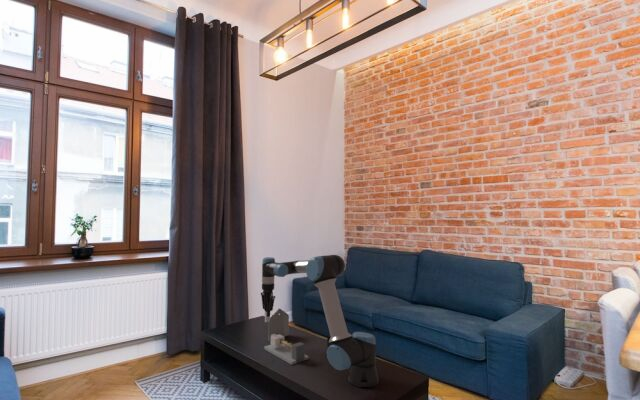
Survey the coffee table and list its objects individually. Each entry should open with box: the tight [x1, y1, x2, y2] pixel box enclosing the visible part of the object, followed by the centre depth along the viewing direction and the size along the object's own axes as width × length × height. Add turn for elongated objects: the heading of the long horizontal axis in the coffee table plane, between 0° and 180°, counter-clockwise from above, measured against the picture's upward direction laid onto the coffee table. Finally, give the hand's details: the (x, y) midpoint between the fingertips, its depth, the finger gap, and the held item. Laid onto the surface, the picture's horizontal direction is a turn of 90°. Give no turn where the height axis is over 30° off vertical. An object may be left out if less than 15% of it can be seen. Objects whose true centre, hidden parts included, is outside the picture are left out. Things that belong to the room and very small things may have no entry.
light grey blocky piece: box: [263, 334, 310, 366], centre depth 209 cm, size 28×12×9 cm, turn 41°
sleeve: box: [270, 334, 286, 347], centre depth 214 cm, size 5×7×4 cm
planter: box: [267, 308, 290, 342], centre depth 237 cm, size 16×8×19 cm, turn 134°
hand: (267, 321), depth 218 cm, fingers closed
